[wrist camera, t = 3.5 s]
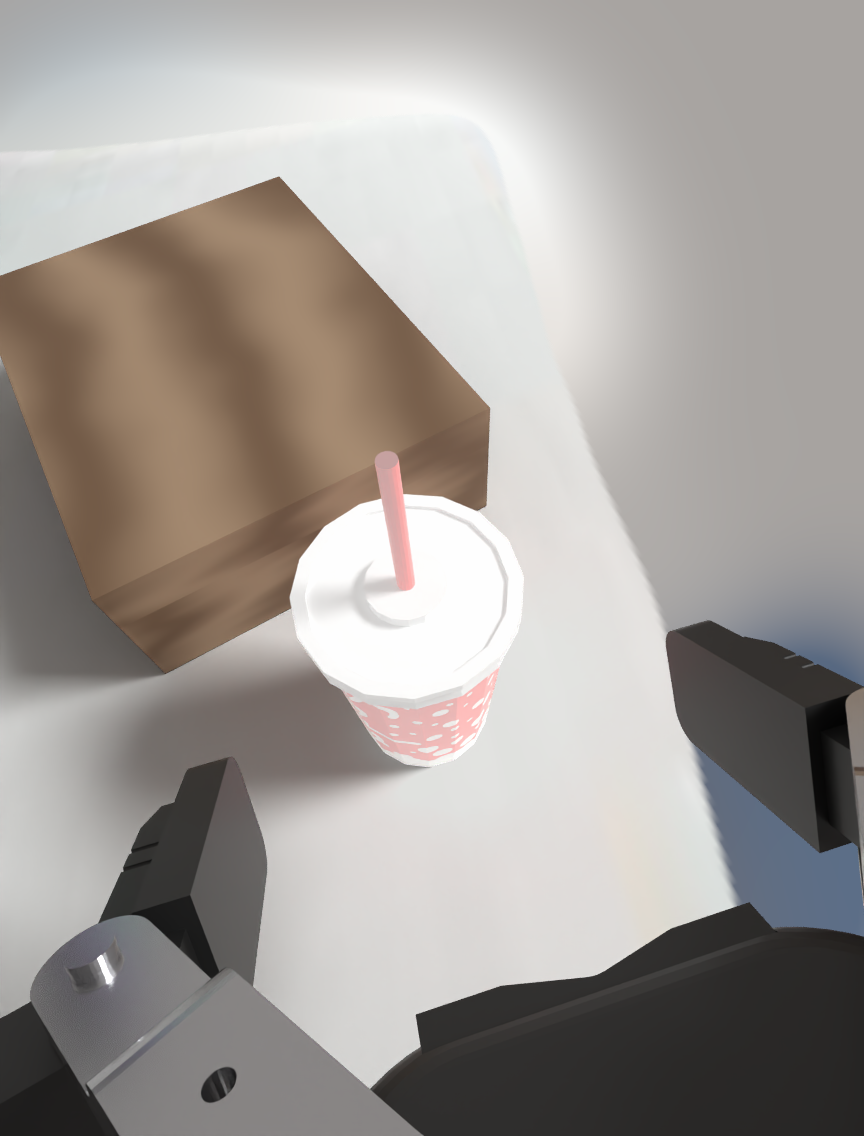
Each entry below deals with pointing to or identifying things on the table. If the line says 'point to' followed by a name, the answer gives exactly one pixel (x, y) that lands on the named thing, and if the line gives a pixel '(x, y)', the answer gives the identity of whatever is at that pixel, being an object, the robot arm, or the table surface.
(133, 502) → the walnut shelf stand
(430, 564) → the beverage cup
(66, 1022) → the robot arm
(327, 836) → the table surface
